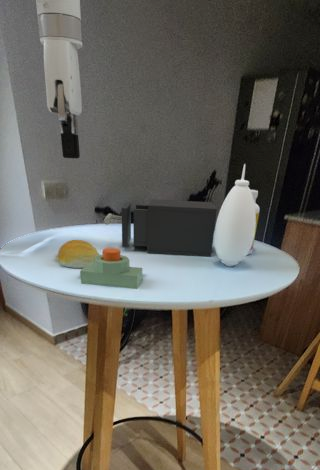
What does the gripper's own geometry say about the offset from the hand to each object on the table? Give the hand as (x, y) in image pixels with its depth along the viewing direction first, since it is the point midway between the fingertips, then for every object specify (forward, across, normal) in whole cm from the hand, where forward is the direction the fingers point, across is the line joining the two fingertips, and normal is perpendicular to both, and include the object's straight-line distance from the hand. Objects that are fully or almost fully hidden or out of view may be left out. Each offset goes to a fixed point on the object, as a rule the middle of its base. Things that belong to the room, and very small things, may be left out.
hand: (71, 157), depth 77 cm
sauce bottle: (+17, +12, +34) cm, 40 cm away
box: (+17, +27, +11) cm, 34 cm away
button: (+13, +27, +12) cm, 32 cm away
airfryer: (+17, 0, +24) cm, 29 cm away
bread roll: (+17, +16, +3) cm, 23 cm away
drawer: (+16, 0, +15) cm, 22 cm away
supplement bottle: (+17, 0, +38) cm, 42 cm away
